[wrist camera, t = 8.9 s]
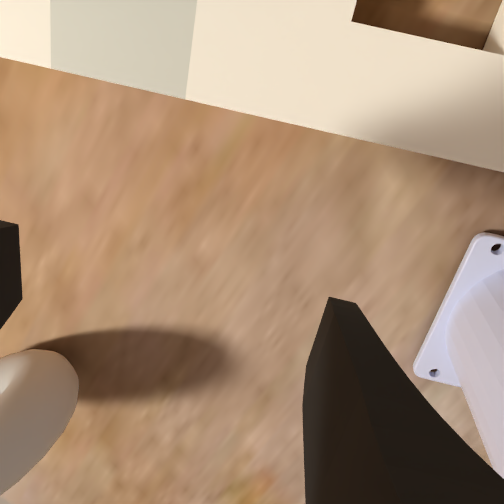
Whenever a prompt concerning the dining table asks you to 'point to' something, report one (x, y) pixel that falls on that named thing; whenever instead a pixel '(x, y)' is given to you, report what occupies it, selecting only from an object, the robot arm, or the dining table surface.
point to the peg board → (280, 66)
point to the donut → (32, 409)
